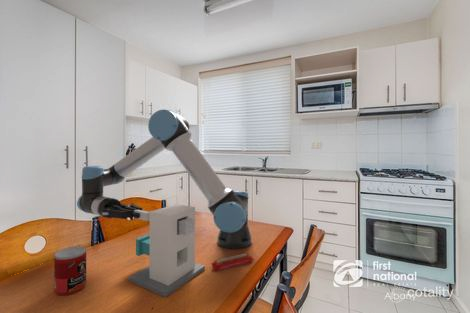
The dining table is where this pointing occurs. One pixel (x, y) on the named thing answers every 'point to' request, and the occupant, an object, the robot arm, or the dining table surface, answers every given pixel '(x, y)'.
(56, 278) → the canned food
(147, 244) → the teal plunger
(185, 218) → the steel plunger
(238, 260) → the candy bar
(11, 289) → the dining table surface
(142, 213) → the robot arm
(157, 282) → the switch block
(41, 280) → the dining table surface
